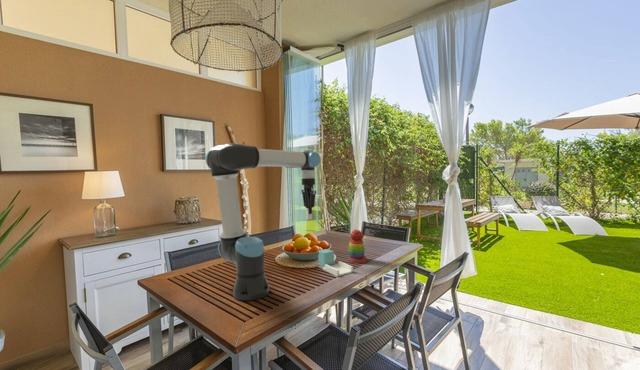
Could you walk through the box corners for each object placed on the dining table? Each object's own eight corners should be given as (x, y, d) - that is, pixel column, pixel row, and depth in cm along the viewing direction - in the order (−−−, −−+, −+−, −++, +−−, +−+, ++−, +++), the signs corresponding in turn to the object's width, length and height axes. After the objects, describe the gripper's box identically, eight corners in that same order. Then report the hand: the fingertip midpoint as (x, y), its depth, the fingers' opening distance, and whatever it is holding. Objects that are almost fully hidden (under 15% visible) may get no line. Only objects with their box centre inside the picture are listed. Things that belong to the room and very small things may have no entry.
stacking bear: (366, 264, 157) (365, 232, 156) (347, 263, 159) (347, 231, 158) (366, 257, 168) (365, 228, 167) (349, 257, 170) (348, 227, 169)
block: (324, 266, 152) (324, 253, 152) (318, 263, 157) (318, 250, 157) (333, 263, 156) (333, 251, 155) (327, 261, 161) (327, 248, 160)
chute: (337, 276, 140) (337, 270, 139) (315, 265, 156) (315, 260, 156) (353, 272, 145) (353, 266, 145) (330, 262, 162) (330, 256, 162)
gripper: (319, 177, 157) (320, 220, 159) (308, 177, 168) (309, 217, 170) (308, 178, 153) (309, 221, 155) (297, 178, 164) (298, 218, 166)
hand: (309, 219), depth 162 cm, fingers closed
